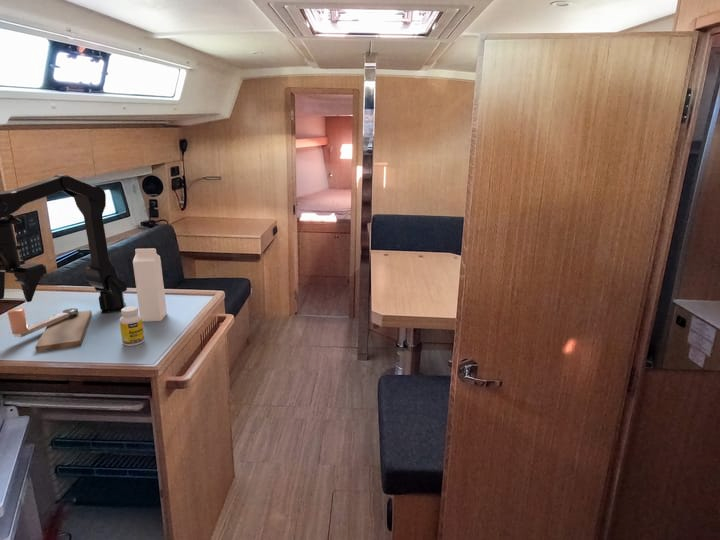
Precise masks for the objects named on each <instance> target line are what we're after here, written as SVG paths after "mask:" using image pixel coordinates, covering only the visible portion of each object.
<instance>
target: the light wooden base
mask: <svg viewBox="0 0 720 540" xmlns="http://www.w3.org/2000/svg"><path fill="white" fill-rule="evenodd" d="M92 313H93V312H92V310H90V309H89V310H83V311H78V314H77V315H75V316H71V317H68V318H65V319H63V320H61V321H58V322H56V323H54V324H51V325H49V326H47V327H45V328H44V331H43V332H42V335H41V336H40V337H39V340H38V341H37V343H36V345H35V351H36V353H39V351H40V352H45V350H47V351H52V349H54V350H59V348H61V349H66V348H67V347H68V348H72V347H73V348H74V347H75V348H76V347H80V346H82V344H83V340H84V337H85V334H86V333H87V329H88V328H89V327H88V326H89V324H90V322H91V319H90V318H92V316H93V314H92ZM54 315H57V313H55V314H53V315H52V316H54ZM91 315H92V316H91ZM68 348H67V349H68Z"/></svg>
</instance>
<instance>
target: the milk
mask: <svg viewBox="0 0 720 540" xmlns="http://www.w3.org/2000/svg"><path fill="white" fill-rule="evenodd" d="M134 251H135V253H134V254H135V255H134V257H133V259H132V265H133V273H134V274H133V275H134V279H135V288H136V297H137V303H138V304H137V305H138V312H139V315H141V317H142V323H143V322H161V321H162V320H163V319H164V318H165V317H166V316H167V315H168V311H167V304H166V303H167V302H166V295H165V294H166V293H165V287H164V286H165V285H164V279H163V278H164V276H163V269H162V260H161V256H160V255H159V254H158V253H157V249H156V248H153V247H152V248H135V250H134Z"/></svg>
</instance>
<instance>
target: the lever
mask: <svg viewBox="0 0 720 540" xmlns="http://www.w3.org/2000/svg"><path fill="white" fill-rule="evenodd" d="M78 312H79V309H78V308H76V307H72V308H71V307H70V308H66V309H63V310H62V312H59V313H58V314H57V313H56V314H57V315H56V314H53V315H54V316H53V315H52V316H49V317H48V318H45V319H41V320H40V321H37V322H36V323H33V324H31V325H28V320H27V316H26V313H25V308H23V307H19V308H17V307H16V308H13V309H10V310H8V311H7V317H8V320H9V325H10V330H11V334H12V335H13V336H14V337H16V338H24V337H26V336H28V335H31V334H33V333H36V332H38V331H39V330H42V329H45V328H46V327H47V326H49V325H51V324H54V323H56V322H58V321H61V320H63V319H65V318H68V317H71V316H75V315H77V314H78Z"/></svg>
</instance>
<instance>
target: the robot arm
mask: <svg viewBox="0 0 720 540" xmlns="http://www.w3.org/2000/svg"><path fill="white" fill-rule="evenodd" d="M60 192H62V193H65V194H66V195H68V196H69V197H72V198H73V199H74V202H75V204H76V207H77V209H78V210H79V212H80V213H81V214H82V216H83V220H84V225H85V231H86V237H87V242H88V243H87V244H88V249H89V254H90V260H91V261H90V265H89V267H85V268H84V272H85V275H86V279H85V281H87V282H88V283H89V285H90V286H92V287H93V288H94V290H95V291H96V292H100V293H99V295H98V302H99V303H98V304H99V309H100V311H101V314H105V313H114V312H113V311H116V312H121V309H122V308H125V307H126V306H125V305H126V302H125V297H124V296H125V295H124V293H125V292H127V290H128V284H127V283H126V282H124V281H123V280H122V279H120V278H119V275H118V272H117V269H116V267H115V266H114V265H113V263H112V262H111V260H110V255H109V250H108V244H107V243H108V242H107V237H106V230H105V225H104V219H103V214H104V212H105V211H104V210H105V208H106V205H107V202H106V201H107V197H106V192H105V190H104V189H102V187H100V186H97V185H91V184H89V183H86V182H83V181H80V180H79V179H75V178H74V177H71V176H70V175H68V174H55V175H53V176H51V177H49V178H45V179H43V180H39V181H36V182H33V183H30V184H26V185H23V186H21V187H17V188H15V189H10V190H0V300H3V299H5V281H6V280H5V279H6V278H5V277H6V274H7V273H8V274H13V275H14V277H15V278H16V279H14V281H15V282H16V283H18V284H19V285H20V286H21V289H22V292H23V296H24V299H25V300H26V303H31V302H32V301H33V298H34V295H35V293H36V289H37V287H38V285H39V283H40V281H41V278H43V277H44V276H45V275H47V274H48V270H47V266H46V265H45V264H43V263H35V262H34V263H33V262H31V263H26V261H25V259H21V257H20V253H19V250H22V249H23V248H22V247H23V246H22V244H18V243H17V239H16V235H15V229H14V225H18V224H21V223H23V221H22V220H21V219H19V218H17V217H16V216H14V213H16V212H17V211H19V210H20V209H21V208H22V207H23V206H25V205H27V204H30V203H32V202H35V201H37V200H40V199H43V198H44V199H45V198H46V197H49V196H52V195H54V194H58V193H60Z"/></svg>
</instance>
